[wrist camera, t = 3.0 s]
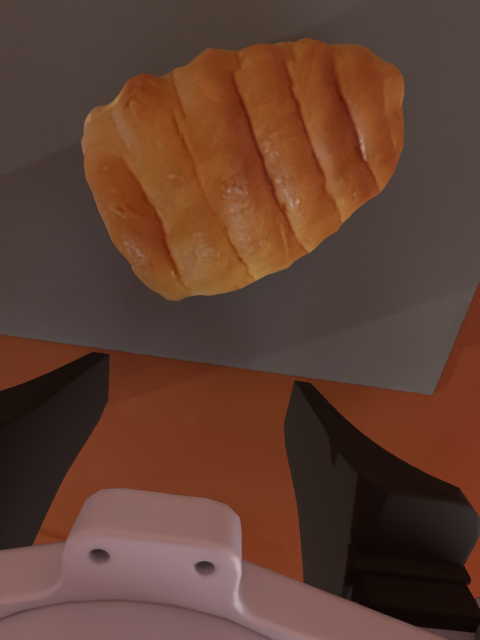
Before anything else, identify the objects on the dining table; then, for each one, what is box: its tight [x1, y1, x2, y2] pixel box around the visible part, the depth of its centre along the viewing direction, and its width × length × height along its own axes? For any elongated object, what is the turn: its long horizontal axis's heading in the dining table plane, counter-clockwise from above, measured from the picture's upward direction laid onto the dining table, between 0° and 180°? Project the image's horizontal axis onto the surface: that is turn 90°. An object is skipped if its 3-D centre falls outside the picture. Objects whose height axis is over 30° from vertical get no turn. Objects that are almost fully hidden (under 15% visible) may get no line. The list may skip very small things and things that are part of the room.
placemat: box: [0, 0, 480, 395], centre depth 12 cm, size 20×20×1 cm
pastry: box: [81, 38, 404, 301], centre depth 11 cm, size 9×7×4 cm
